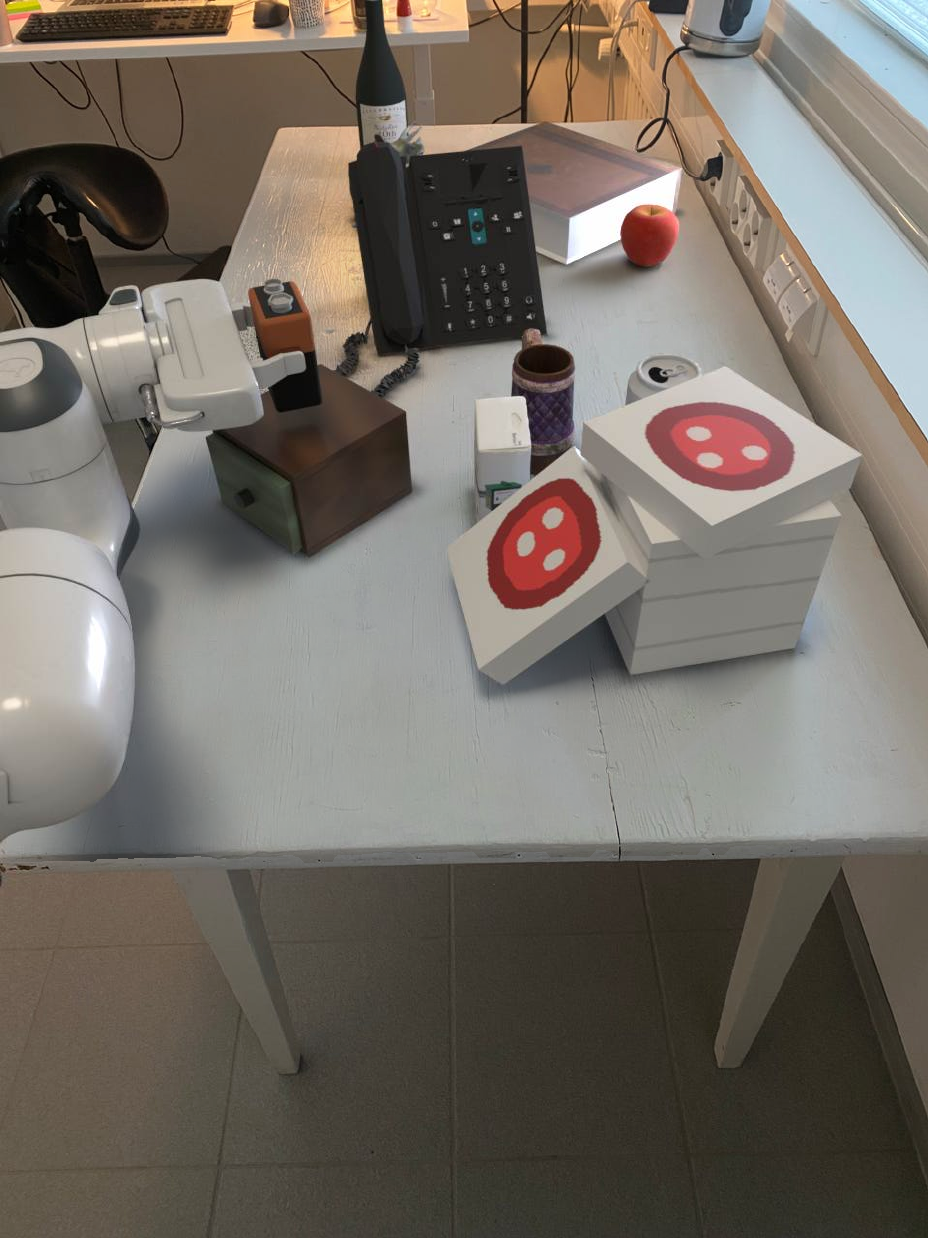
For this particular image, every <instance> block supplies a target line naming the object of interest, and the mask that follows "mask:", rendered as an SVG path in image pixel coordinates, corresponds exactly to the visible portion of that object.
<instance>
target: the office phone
mask: <svg viewBox="0 0 928 1238" xmlns="http://www.w3.org/2000/svg"><path fill="white" fill-rule="evenodd" d="M347 172H348V173H347V175H348V183H349V182H350V189H351V195H352V198H351V202H352V209H353V214H354V218H355V220H354V222H355V223H356V227H357V228H356V233H357V234H356V235H357V240H358V246H359V253H360V259H361V266H362V272H363V278H364V284H365V289H366V290H365V292H366V298H367V304H368V311H369V320H368V323H367V325H366V327H365V330H364V331H365V332H364V331H362V332H361V331H357V332H356V333H350V336H347V338H346V339H345V342H344V343H343V345H342V347H343V348H344V349H343V351H344V353H345V354H346V355H345V359H344V360H342V361H341V363H340V364H338V363H337V365H336V368H335V369H332V370H333V371H335V372H336V373H338V374H340V375H342V376H344V377H345V376H347V374H350V371H353V369H354V368H355V367H357V366H358V364H357V362H358V360H359V359H360V355H359V354H360V353H359V351H360V349H358V348H357V346H360V345H361V343H362V344H363V343H365V344H368V343H367V342H368V337H369V334H370V329H371V330H372V336H373V337H372V338H373V343H374V346H375V349H376V353H377V356H381V355H390V354H395V353H403V352H405V355H406V357H407V360H405V362H404V363H403V364H399V367H397V368H396V369H393V370H392V371H391V372H390V373H386V374H385V375H384V376H383V378H381V379H380V381H379V384H377V385H376V386H375V387H374V388H373V389H371V390H370V392H372V393H374V394H376V395H378V396H379V397H381V398H383V399H384V396H386V394H387V391H391V388H392V387H393V385H394V384H395V383H397V382H398V381H400V382H402V380H404V378H407V377H408V375H412V374H414V373H415V371H416V370H417V364H418V363H419V362H421V360H420V353H419V352H420V350H424V349H431V348H436V347H443V346H451V345H459V344H460V345H461V344H469V343H479V342H487V341H496V340H504V339H505V340H506V339H513V338H522V337H523V331H525V330H528V329H531V328H533V329H536V330H540V334H541V335H547V334H548V330H547V322H546V321H547V320H546V314H545V308H544V299H543V293H542V292H543V291H542V285H541V278H540V277H541V276H540V270H539V263H538V256H537V255H538V254H537V252H536V247H535V240H534V232H533V225H532V217H531V210H530V202H529V195H528V188H527V180H526V173H525V165H524V158H523V150H522V146H515V147H504V148H493V149H482V150H471V151H466V150H462V151H452V152H451V151H450V152H439V153H429V154H428V153H427V154H423V155H416V156H410V161H409V169H406V163H405V157H403V156H400V153H399V152H398V151H397V150H396V149H395V148H394V147H393V146H392V145H391V144H390V143H387V142H377V141H375V142H372V143H369V144H366V145H363V146H362V148H361V149H359V150H358V152H357V153H356V159H355V160H353V161H351V162H348V163H347ZM351 195H350V196H351Z"/></svg>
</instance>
